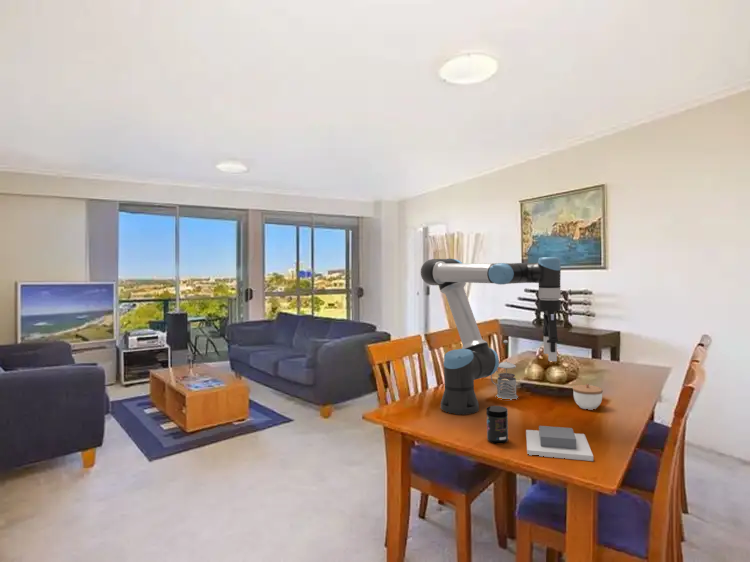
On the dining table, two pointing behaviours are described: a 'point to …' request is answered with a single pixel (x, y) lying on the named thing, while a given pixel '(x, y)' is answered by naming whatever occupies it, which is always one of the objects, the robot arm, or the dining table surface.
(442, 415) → the dining table surface
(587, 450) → the build base
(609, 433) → the dining table surface
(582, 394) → the lidded jar
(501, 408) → the supplement container
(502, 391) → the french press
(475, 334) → the robot arm
